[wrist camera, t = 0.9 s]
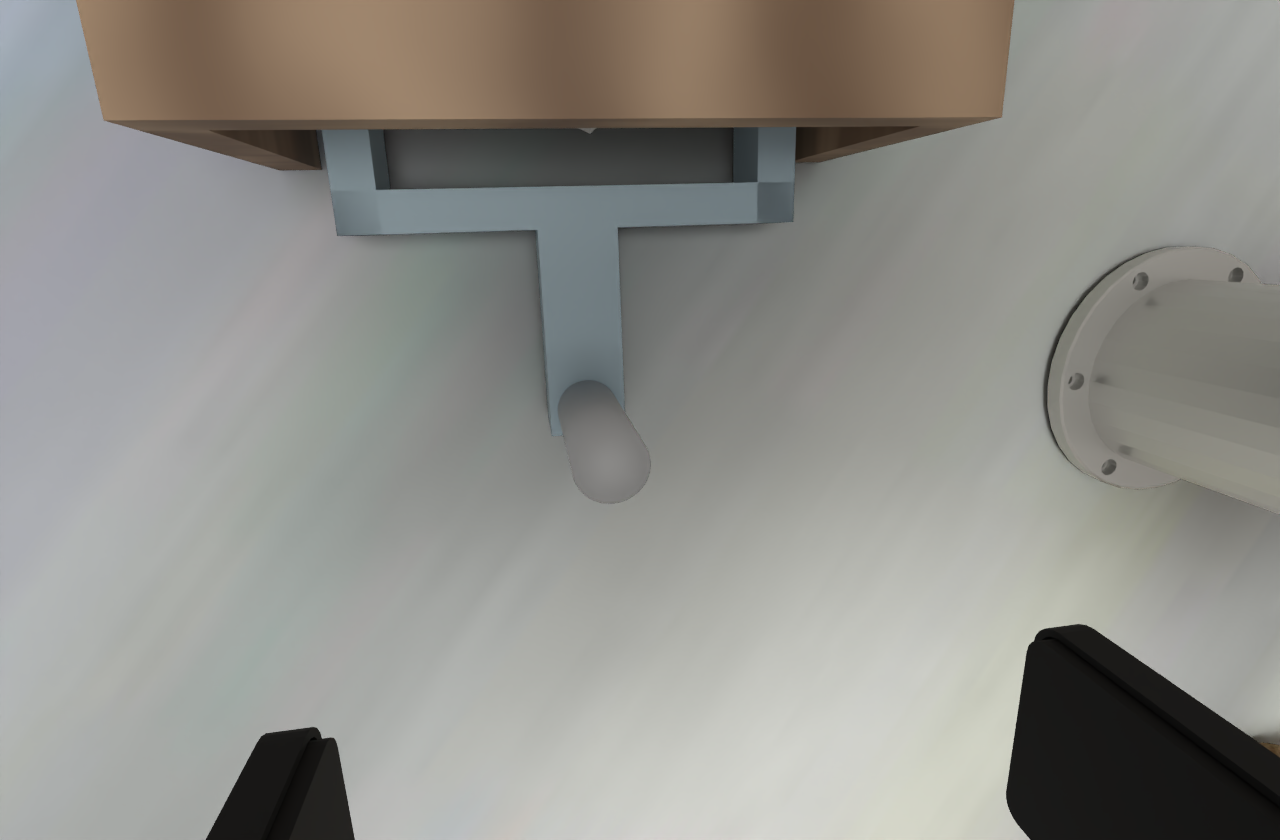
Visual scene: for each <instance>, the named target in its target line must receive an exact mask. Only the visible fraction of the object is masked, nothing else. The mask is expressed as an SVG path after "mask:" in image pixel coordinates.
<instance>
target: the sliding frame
mask: <svg viewBox="0 0 1280 840" xmlns="http://www.w3.org/2000/svg"><path fill="white" fill-rule="evenodd" d="M322 136H323V143H324V150H325V156H326V163H327V170H328V177H329V183H330V190H331V197H332V204H333V210H334V217H335V224H336V230H337V236H369V235H401V234H434V233H467V232H499V231H532V230H535V234H536V249H537V263H538V277H539V291H540V305H541V319H542V333H543V347H544V362H545V376H546V390H547V404H548V417H549V423H550V428H551V434H552V436H562V435H563V437H564V441H565V445H566V450H567V454H568V458H569V462H570V466H571V471H572V475H573V478H574V481H575V483H576V485H577V487H578V488H579V490H580V491H581V492H582V493H583V494H584V495H585V496H587V497H588V498H590V499H592V500H594V501H597V502H600V503H607V504H611V503H619V502H622V501H625V500H627V499H629V498H631V497H633V496H634V495H635V494H637V493H638V492H639V491H640V490H641V488H642V487H643V486H644V484H645V483H646V481H647V479H648V476H649V473H650V466H651V462H650V455H649V452H648V450H647V448H646V446H645V444H644V443H643V441H642V439H641V438H640V436H639V435H638V433H637V431H636V430H635V428H634V427H633V425H632V423H631V422H630V420H629V418H628V417H627V415H626V414H625V404H624V378H623V352H622V326H621V300H620V274H619V248H618V228H630V227H663V226H695V225H728V224H761V223H781V222H793V214H794V181H795V148H796V127H734V162H733V183H697V184H647V185H597V186H547V187H497V188H447V189H397V190H391V189H390V182H389V174H388V166H387V158H386V150H385V142H384V134H383V129H359V130H322Z"/></svg>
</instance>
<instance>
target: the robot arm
mask: <svg viewBox="0 0 1280 840" xmlns="http://www.w3.org/2000/svg"><path fill="white" fill-rule="evenodd" d="M1047 407H1048V413H1049V418H1050V424H1051V428H1052V431H1053V433H1054V436H1055V438H1056V441H1057V443H1058V446H1059V447H1060V448H1061V450H1062V451H1063V453H1064V454H1065V455H1066V457H1067V458H1068V460H1069V461H1070V462H1071V463H1072V464H1074V465H1075V466H1076V467H1077V468H1078V469H1079V470H1081V471H1082V472H1083V473H1085V474H1087V475H1089V476H1091V477H1093V478H1095V479H1097V480H1100V481H1102V482H1105V483H1108V484H1111V485H1113V486H1116V487H1119V488H1128V489H1137V490H1138V489H1147V488H1157V487H1160V486H1163V485H1167V484H1170V483H1173V482H1176V481H1178V480H1180V479H1183V480H1186V481H1189V482H1191V483H1194V484H1197V485H1200V486H1202V487H1205V488H1208V489H1211V490H1213V491H1216V492H1219V493H1222V494H1224V495H1227V496H1230V497H1233V498H1235V499H1238V500H1241V501H1244V502H1246V503H1249V504H1252V505H1255V506H1257V507H1260V508H1263V509H1266V510H1268V511H1271V512H1274V513H1277V514H1279V515H1280V285H1272V284H1262V283H1261V281H1260V279H1259V278H1258V277H1257V276H1256V275H1255V273H1254V272H1253V271H1252V270H1251V269H1250V268H1249V266H1248V265H1247V264H1245V263H1244V262H1242V261H1241V260H1239V259H1238V258H1236V257H1235V256H1233V255H1232V254H1229V253H1226V252H1223V251H1220V250H1217V249H1214V248H1205V247H1167V248H1163V249H1159V250H1155V251H1151V252H1148V253H1145V254H1143V255H1141V256H1139V257H1137V258H1134V259H1132V260H1130V261H1128V262H1126V263H1124V264H1123V265H1122V266H1120V267H1119V268H1117V269H1116V270H1115V271H1113V272H1112V273H1110V274H1109V275H1108V276H1106V277H1105V278H1104V279H1103V280H1102V281H1101V282H1100V283H1099V284H1098V285H1097V286H1096V287H1095V288H1094V289H1093V290H1092V291H1091V292H1090V293H1089V294H1088V295H1087V296H1086V297H1085V299H1084V300H1083V301H1082V303H1081V304H1080V306H1079V307H1078V308H1077V310H1076V311H1075V312H1074V314H1073V315H1072V317H1071V318H1070V320H1069V322H1068V324H1067V326H1066V328H1065V330H1064V332H1063V334H1062V335H1061V337H1060V340H1059V343H1058V345H1057V348H1056V351H1055V354H1054V357H1053V360H1052V363H1051V369H1050V375H1049V380H1048V402H1047ZM1006 799H1007V804H1008V807H1009V810H1010V812H1011V814H1012V816H1013V818H1014V820H1015V821H1016V823H1017V824H1018V825H1019V827H1020V828H1021V829H1022V830H1023V831H1024V833H1025V834H1026V835H1027V836H1028V837H1029V838H1030V840H1280V757H1279V756H1277V755H1276V754H1274V753H1273V752H1271V751H1270V750H1269V749H1267V748H1266V747H1264V746H1263V745H1261V744H1260V743H1258V742H1257V741H1256V740H1254V739H1253V738H1251V737H1250V736H1248V735H1247V734H1245V733H1244V732H1242V731H1241V730H1240V729H1238V728H1237V727H1235V726H1234V725H1232V724H1231V723H1229V722H1228V721H1226V720H1225V719H1224V718H1222V717H1221V716H1219V715H1218V714H1216V713H1215V712H1213V711H1212V710H1211V709H1209V708H1208V707H1206V706H1205V705H1203V704H1202V703H1200V702H1199V701H1197V700H1196V699H1195V698H1193V697H1192V696H1190V695H1189V694H1187V693H1186V692H1184V691H1183V690H1181V689H1180V688H1179V687H1177V686H1176V685H1174V684H1173V683H1171V682H1170V681H1168V680H1167V679H1166V678H1164V677H1163V676H1161V675H1160V674H1158V673H1157V672H1155V671H1154V670H1152V669H1151V668H1150V667H1148V666H1147V665H1145V664H1144V663H1142V662H1141V661H1139V660H1138V659H1136V658H1135V657H1134V656H1132V655H1131V654H1129V653H1128V652H1126V651H1125V650H1123V649H1122V648H1121V647H1119V646H1118V645H1116V644H1115V643H1113V642H1112V641H1110V640H1109V639H1107V638H1106V637H1105V636H1103V635H1102V634H1100V633H1099V632H1097V631H1096V630H1094V629H1093V628H1091V627H1089V626H1087V625H1081V624H1077V625H1069V626H1062V627H1054V628H1047V629H1043V630H1041V631H1039V632H1038V634H1037V635H1036V637H1035V640H1034V642H1032V643H1031V644H1030V645H1029V646H1028V650H1027V654H1026V661H1025V668H1024V675H1023V682H1022V688H1021V695H1020V702H1019V709H1018V716H1017V722H1016V729H1015V736H1014V743H1013V749H1012V756H1011V763H1010V770H1009V777H1008V783H1007V790H1006ZM206 840H355V839H354V833H353V828H352V822H351V817H350V811H349V806H348V800H347V795H346V790H345V784H344V779H343V773H342V768H341V762H340V757H339V752H338V747H337V743H336V741H335V739H334V738H325V739H322V738H321V734H320V732H319V730H318V729H317V728H315V727H310V728H303V729H296V730H288V731H281V732H273V733H266V734H265V735H263V736H261V738H260V739H259V741H258V742H257V744H256V746H255V748H254V750H253V751H252V753H251V755H250V757H249V759H248V761H247V763H246V765H245V767H244V768H243V770H242V772H241V774H240V776H239V778H238V780H237V782H236V784H235V785H234V787H233V789H232V791H231V793H230V795H229V797H228V799H227V801H226V802H225V804H224V806H223V808H222V810H221V812H220V814H219V816H218V818H217V819H216V821H215V823H214V825H213V827H212V829H211V831H210V833H209V835H208V836H207V838H206Z"/></svg>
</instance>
